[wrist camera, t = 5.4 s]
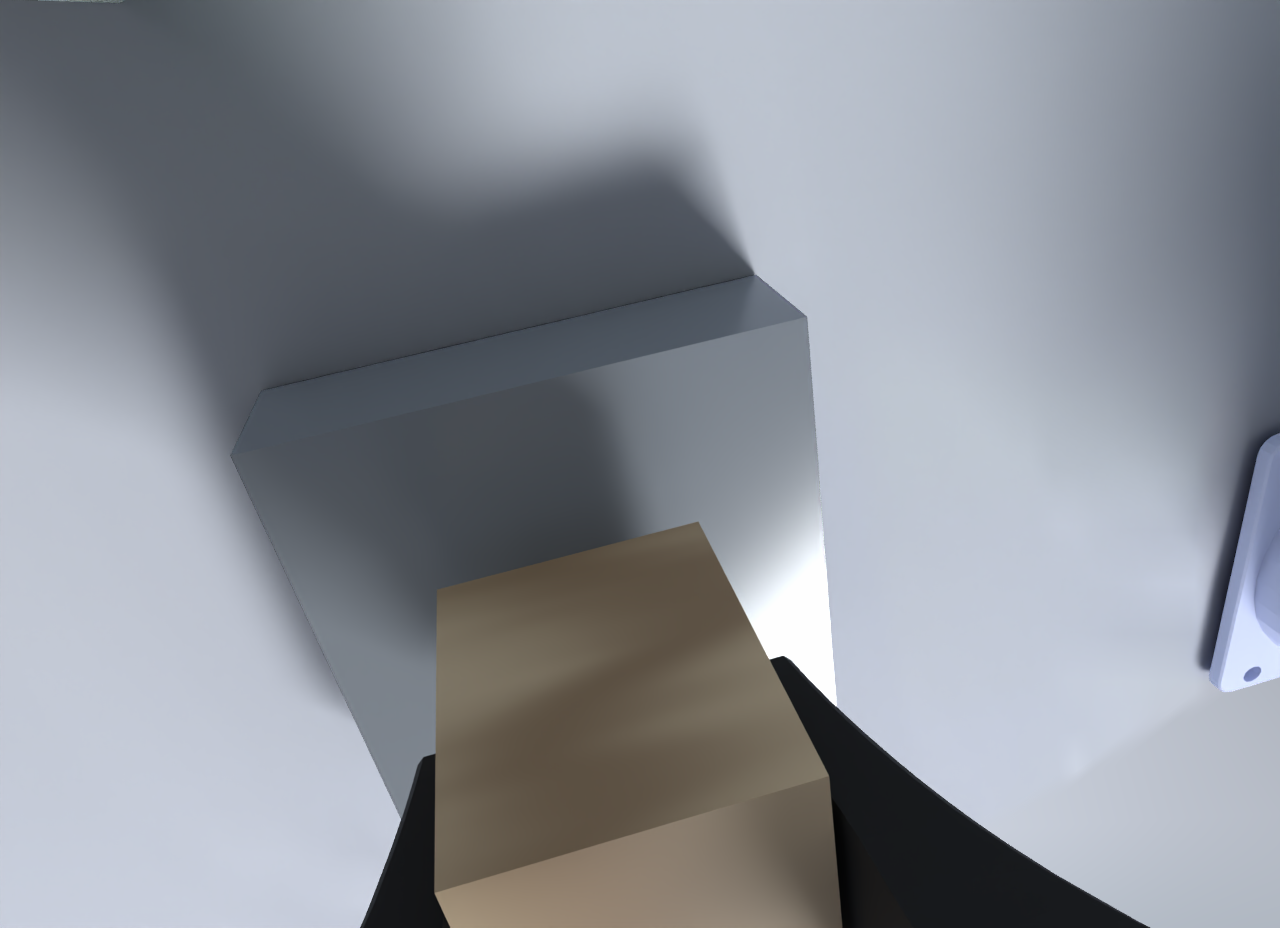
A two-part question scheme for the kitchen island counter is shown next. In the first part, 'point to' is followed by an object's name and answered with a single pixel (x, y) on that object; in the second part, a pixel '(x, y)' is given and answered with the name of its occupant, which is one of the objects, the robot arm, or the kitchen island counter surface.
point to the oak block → (622, 752)
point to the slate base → (542, 482)
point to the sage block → (102, 0)
